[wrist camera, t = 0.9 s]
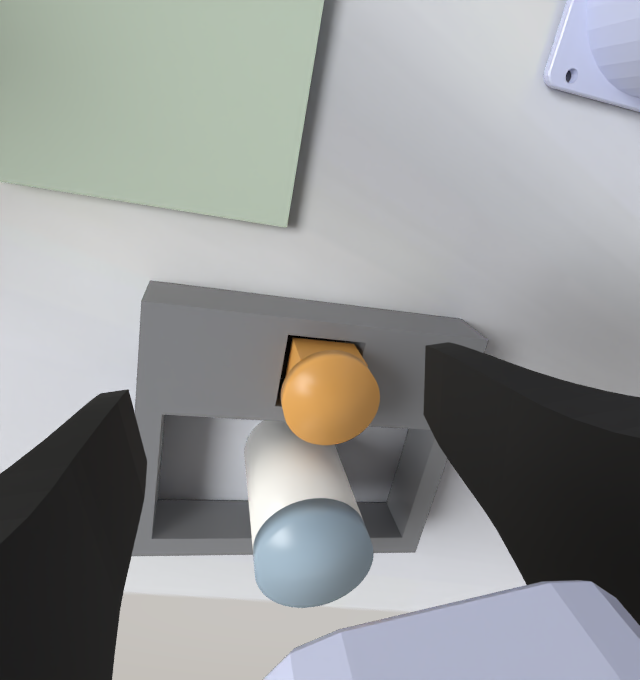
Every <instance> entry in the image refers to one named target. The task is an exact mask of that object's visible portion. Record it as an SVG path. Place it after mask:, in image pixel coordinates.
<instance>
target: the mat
mask: <svg viewBox="0 0 640 680" xmlns="http://www.w3.org/2000/svg"><path fill="white" fill-rule="evenodd" d="M323 5H324V0H0V182H4V183H11V184H17V185H23V186H29V187H35V188H42V189H48V190H54V191H60V192H67V193H73V194H79V195H85V196H92V197H98V198H104V199H110V200H117V201H123V202H129V203H135V204H141V205H148V206H154V207H160V208H166V209H173V210H179V211H185V212H191V213H198V214H204V215H210V216H216V217H222V218H229V219H235V220H241V221H247V222H254V223H260V224H266V225H272V226H279V227H285V228H287V223H288V217H289V211H290V205H291V199H292V193H293V187H294V181H295V175H296V169H297V163H298V156H299V150H300V144H301V138H302V132H303V126H304V120H305V114H306V108H307V102H308V96H309V90H310V84H311V77H312V71H313V65H314V59H315V53H316V47H317V41H318V35H319V29H320V23H321V17H322V11H323Z"/></svg>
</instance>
